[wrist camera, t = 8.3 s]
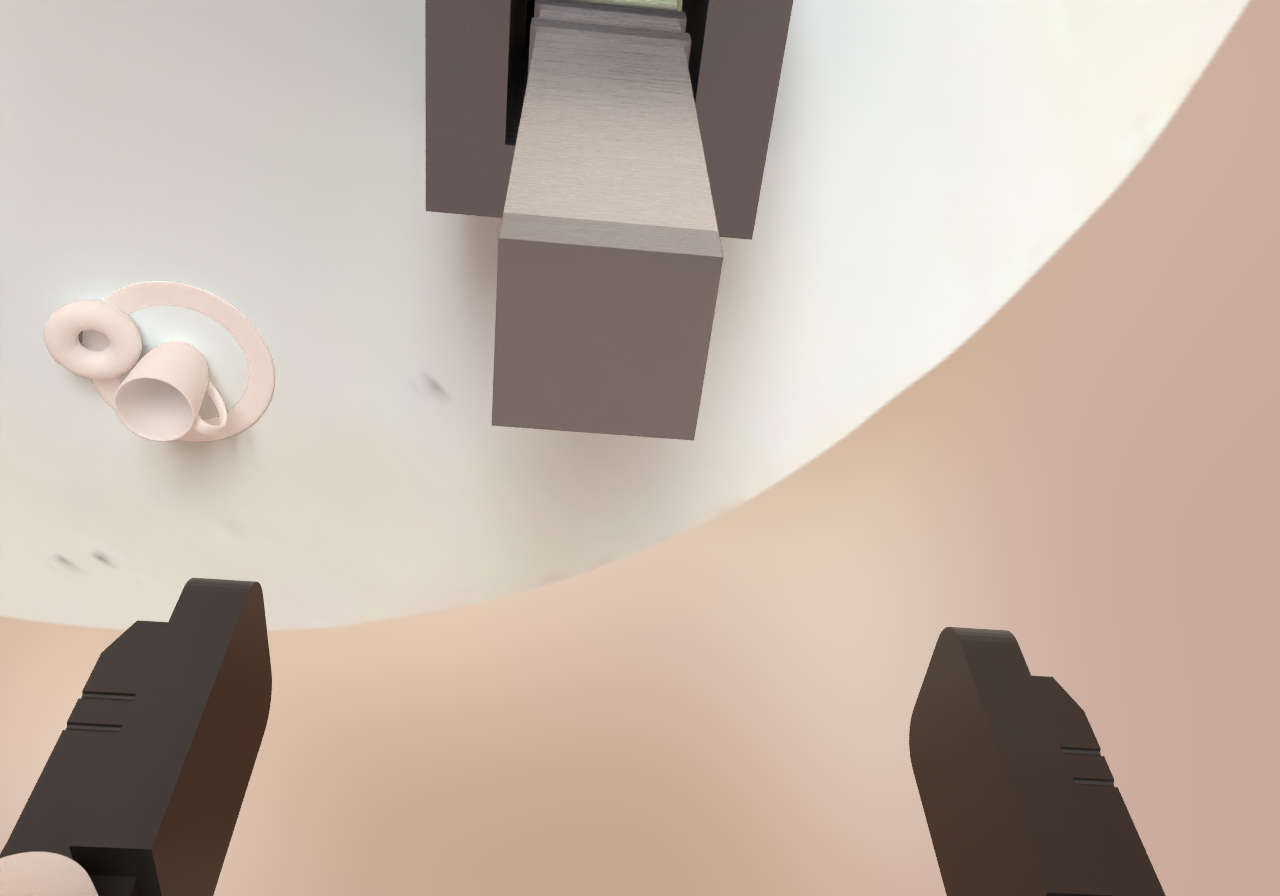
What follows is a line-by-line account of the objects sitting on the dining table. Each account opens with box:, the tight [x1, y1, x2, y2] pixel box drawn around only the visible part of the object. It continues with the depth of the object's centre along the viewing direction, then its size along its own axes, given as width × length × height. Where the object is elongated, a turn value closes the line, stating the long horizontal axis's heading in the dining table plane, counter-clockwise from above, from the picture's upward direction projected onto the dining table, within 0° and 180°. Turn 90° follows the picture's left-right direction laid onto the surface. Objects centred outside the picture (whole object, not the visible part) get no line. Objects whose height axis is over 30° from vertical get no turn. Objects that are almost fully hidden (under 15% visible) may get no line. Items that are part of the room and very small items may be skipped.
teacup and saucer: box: [45, 281, 275, 442], centre depth 48 cm, size 9×8×4 cm
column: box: [492, 0, 723, 440], centre depth 27 cm, size 4×4×19 cm
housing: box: [426, 0, 793, 239], centre depth 36 cm, size 12×12×11 cm
